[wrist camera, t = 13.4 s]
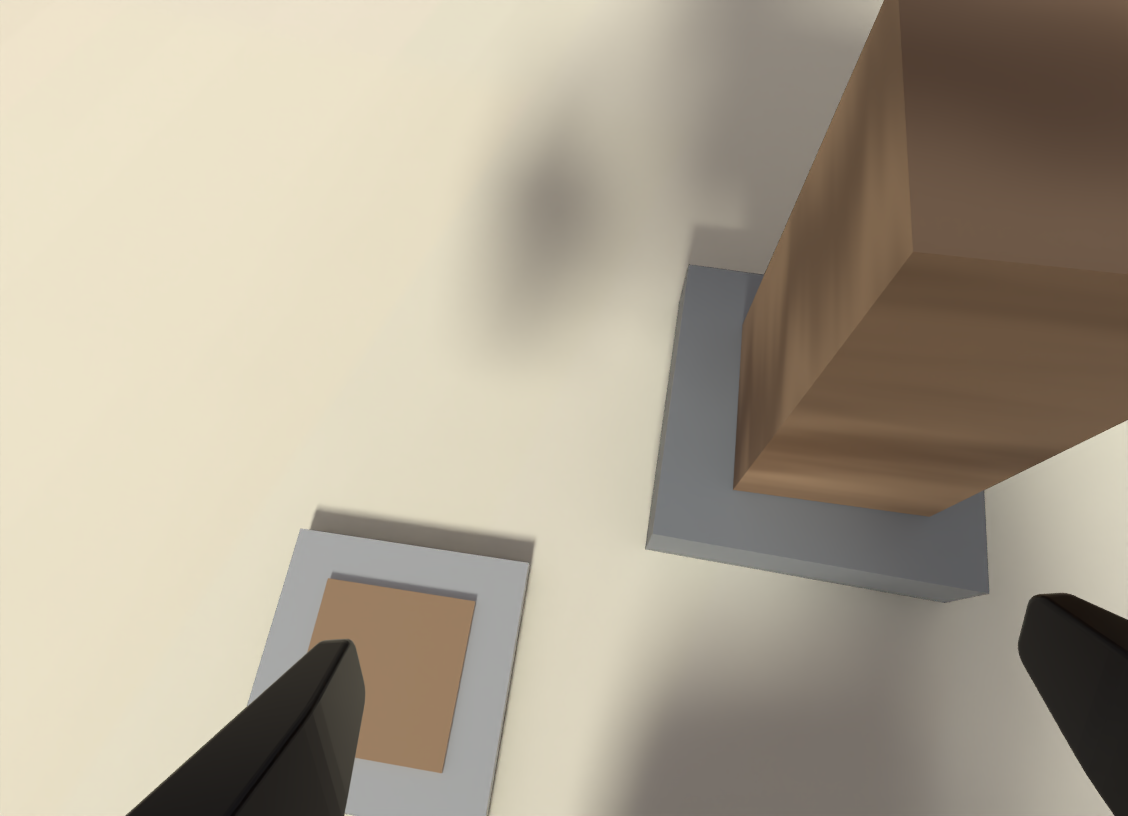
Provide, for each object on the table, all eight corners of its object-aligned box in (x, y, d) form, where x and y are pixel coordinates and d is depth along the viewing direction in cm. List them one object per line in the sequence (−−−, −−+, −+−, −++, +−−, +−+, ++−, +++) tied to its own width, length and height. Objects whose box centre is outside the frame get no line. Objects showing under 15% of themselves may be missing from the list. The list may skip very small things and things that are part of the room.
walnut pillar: (930, 516, 20) (1373, 299, 9) (733, 489, 21) (913, 252, 9) (920, 345, 23) (1263, -4, 11) (742, 325, 23) (897, -30, 12)
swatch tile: (484, 835, 20) (480, 841, 19) (229, 787, 20) (217, 791, 20) (530, 565, 23) (528, 562, 22) (306, 531, 23) (298, 527, 23)
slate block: (939, 603, 22) (989, 593, 20) (644, 551, 23) (652, 534, 21) (933, 343, 26) (974, 303, 23) (678, 307, 27) (688, 264, 24)
